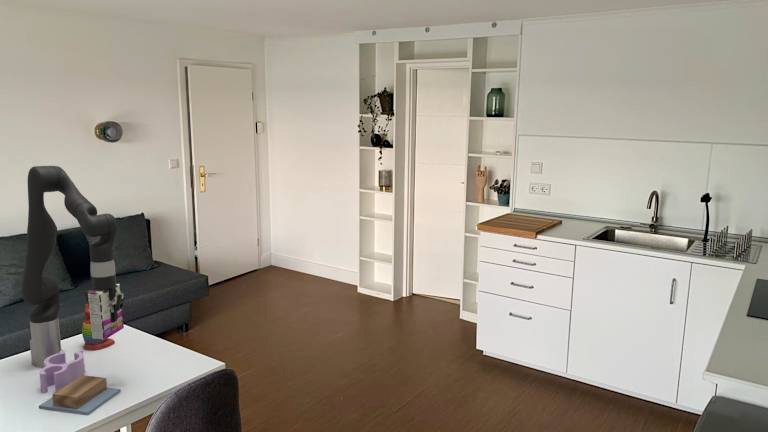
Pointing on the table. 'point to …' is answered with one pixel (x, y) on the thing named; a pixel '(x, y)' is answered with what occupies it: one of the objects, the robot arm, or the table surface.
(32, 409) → the table surface
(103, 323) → the candy bar box
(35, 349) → the robot arm
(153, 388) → the table surface
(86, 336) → the stacking bear
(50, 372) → the clip
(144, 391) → the table surface
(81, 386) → the walnut plinth
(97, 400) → the slate blue board
